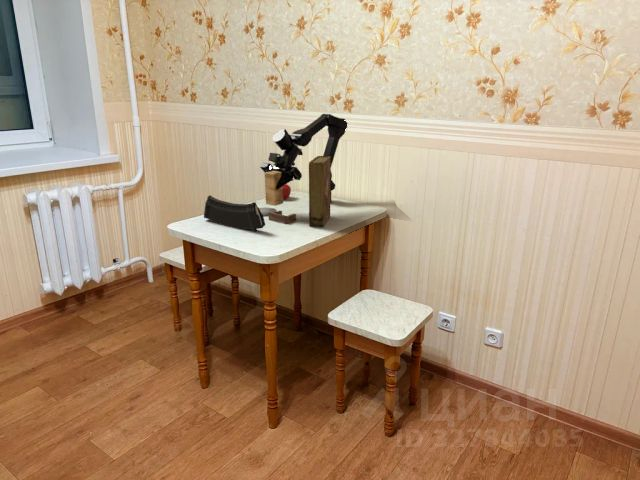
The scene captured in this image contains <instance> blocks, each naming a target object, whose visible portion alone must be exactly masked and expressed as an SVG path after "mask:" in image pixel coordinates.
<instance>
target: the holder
mask: <svg viewBox="0 0 640 480" xmlns="http://www.w3.org/2000/svg"><path fill="white" fill-rule="evenodd" d="M268 220H269V221H270V222H271V221H272V222H276V223H281V224H283V225H287V224H289V223H291V222H294V221H297V214H296V213H292V214H289V215H285V214H283V210H278V211H277V212H274V213H272V212H270V213H269V216H268Z"/></svg>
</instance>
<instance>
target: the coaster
mask: <svg viewBox="0 0 640 480" xmlns="http://www.w3.org/2000/svg"><path fill="white" fill-rule="evenodd" d="M258 208H259V209H260V211H261V213H262V214H263V217H269V213H270V212H272V213H274V212H277V209H276V208H273V207H258Z"/></svg>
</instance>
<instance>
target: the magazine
mask: <svg viewBox="0 0 640 480" xmlns="http://www.w3.org/2000/svg"><path fill="white" fill-rule="evenodd" d="M206 198H207V199H206V201H205V203H204V204H205V206H204V212H203V218H204V219H206V220H209V221H211V222H214V223H216V224H220V225H223V226H226V227H231V228H235V229H240V230H241V229H242V230H253V231H254V232H255V233H256V232H258V230H259V229H263V228H264V227H265V226H266V222H265V218H264V216H263V214H262V213H261V211H260V209H259V208H260V207H258V205H257V202H255V201H253V202H251V203H233V202H229V201H223V200H221V199H218V198H215V197H214V196H212V195H211V194H210V195H208V196H207V197H206Z"/></svg>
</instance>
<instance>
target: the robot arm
mask: <svg viewBox="0 0 640 480" xmlns="http://www.w3.org/2000/svg"><path fill="white" fill-rule="evenodd" d="M344 120H346V119H345V118H342V117H337V116H335V115H332V114H331V113H322V114H320V116H319V117H318V118H316V119H315V120H313V121H312V122H311V123H310V124H308V125H307V126H305V127H303V128H300V129H297V130H295V131H293V132H292V133H291V134H290V133H289V132H288V131H287V129H285V128H281V129H280V130H279V131H277V132H276V133H275V134H273V136H272V141H273V142H274V143H275V145H277V146H278V148H279V149H280V150H282V151H283V152H281V153H276V152H269V156H268V159H267V160H268V161H269V162H262V163H261V164H260V166H259V168H260V169H261V170H262V171H263V173H265V172H270V171H278V172H281V178H280V180H279V181H278V183H277V186H276V189H277V190H278V189H279V188H281V187H282V186H284V185H285V184H287V185H288V183H290V182H293V181H294V180H296V181H300V180H301V179H302V177H303V174H302V172H301V171H300V170H299V168H298V167H297V166H295V165H296V163H295V161H296V159H297V157H298V156H303V155H304V154H303V150H302V148H300V147H306V146H308V145H309V143H310V142H312V138H313V136H315V135H317V133H319V132H320V131H322V130H323V129H324V128H325V127H327V133H328V137H327V141H326V146H325V147H324V152H323V154H322V156H330V157H331V167H332V166H333V163H334V159H335V157H336V156H335V155H336V153H337V148H338V145H339V142H340V140H341V138H342V137H343V136H344V135H345V133H346V131H345V129H346V128H347V129H348V126H347V124H348V121H347V120H346V121H347V122H346V121H344ZM347 129H346V130H347ZM270 162H272V164H273V165H272V164H271V163H270ZM332 177H333V173H332V172H331V174H330V204H332V202H333V201H332V200H333V199H332V191H334V190H336V189H335V188H336V184H335V182H334V180H332V179H333V178H332Z"/></svg>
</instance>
